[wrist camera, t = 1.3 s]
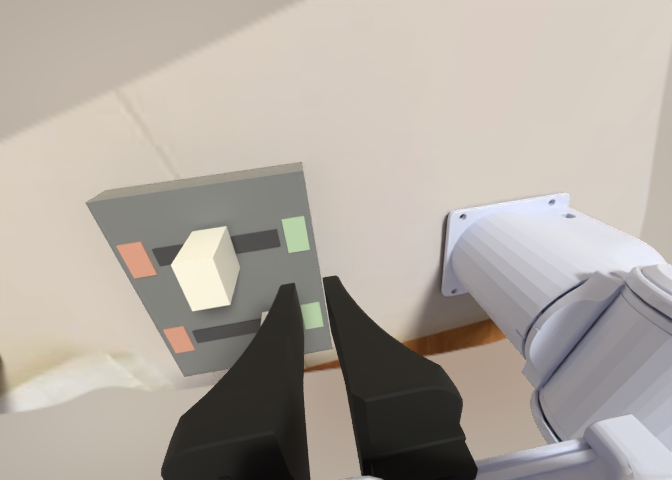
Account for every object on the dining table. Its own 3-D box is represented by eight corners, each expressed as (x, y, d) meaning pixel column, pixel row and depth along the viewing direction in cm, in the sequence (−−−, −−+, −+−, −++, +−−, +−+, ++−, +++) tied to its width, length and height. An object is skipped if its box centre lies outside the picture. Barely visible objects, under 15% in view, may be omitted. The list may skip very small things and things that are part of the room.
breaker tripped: (226, 226, 17) (212, 258, 14) (240, 267, 19) (230, 304, 16) (192, 231, 17) (170, 265, 14) (208, 272, 19) (192, 311, 16)
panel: (301, 162, 19) (302, 171, 17) (329, 330, 26) (332, 349, 24) (105, 190, 18) (84, 203, 16) (191, 356, 25) (183, 378, 23)
